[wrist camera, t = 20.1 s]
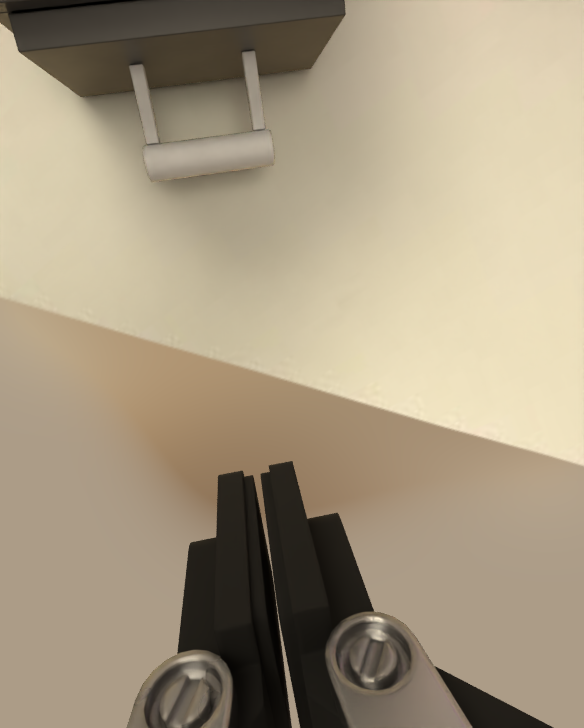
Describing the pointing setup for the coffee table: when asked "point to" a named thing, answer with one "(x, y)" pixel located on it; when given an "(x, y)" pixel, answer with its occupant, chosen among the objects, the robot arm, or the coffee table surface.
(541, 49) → the coffee table surface
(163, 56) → the pulled-out drawer
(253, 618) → the robot arm
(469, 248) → the coffee table surface
